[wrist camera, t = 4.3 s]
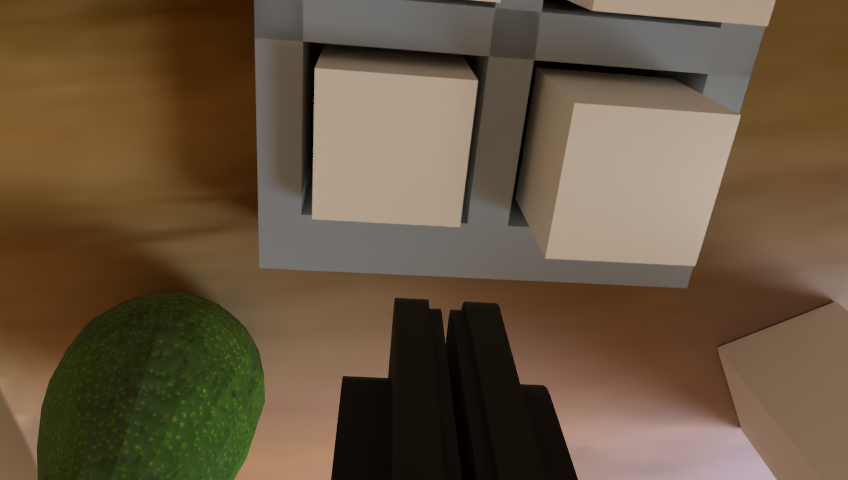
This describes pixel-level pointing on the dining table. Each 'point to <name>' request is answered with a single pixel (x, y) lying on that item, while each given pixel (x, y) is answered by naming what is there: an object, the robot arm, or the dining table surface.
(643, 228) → the button
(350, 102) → the button
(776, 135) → the dining table surface
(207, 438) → the avocado
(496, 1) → the button
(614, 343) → the dining table surface
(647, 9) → the button
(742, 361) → the milk
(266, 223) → the board
